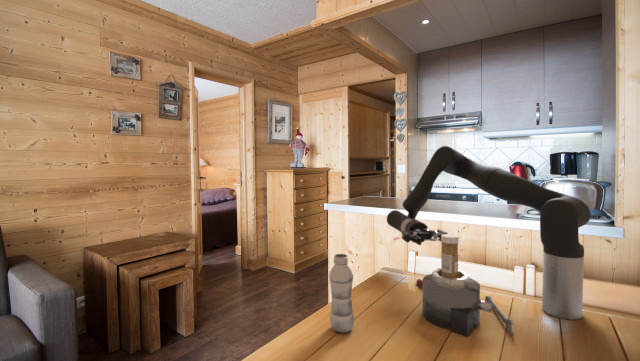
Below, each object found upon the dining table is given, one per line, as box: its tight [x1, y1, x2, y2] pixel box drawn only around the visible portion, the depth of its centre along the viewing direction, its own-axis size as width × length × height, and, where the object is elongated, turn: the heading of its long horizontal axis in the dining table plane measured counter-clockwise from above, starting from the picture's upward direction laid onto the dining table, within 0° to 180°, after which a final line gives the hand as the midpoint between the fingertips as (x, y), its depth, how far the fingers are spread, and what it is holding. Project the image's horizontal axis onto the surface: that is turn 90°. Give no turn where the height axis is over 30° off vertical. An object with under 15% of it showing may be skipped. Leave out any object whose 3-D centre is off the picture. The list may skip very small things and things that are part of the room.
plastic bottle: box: [328, 253, 355, 333], centre depth 85 cm, size 6×7×20 cm
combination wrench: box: [484, 295, 515, 336], centre depth 90 cm, size 4×1×20 cm
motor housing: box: [422, 267, 493, 338], centre depth 89 cm, size 15×18×12 cm
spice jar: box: [440, 233, 460, 278], centre depth 90 cm, size 5×5×13 cm
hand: (433, 241), depth 101 cm, fingers open, 8 cm apart
